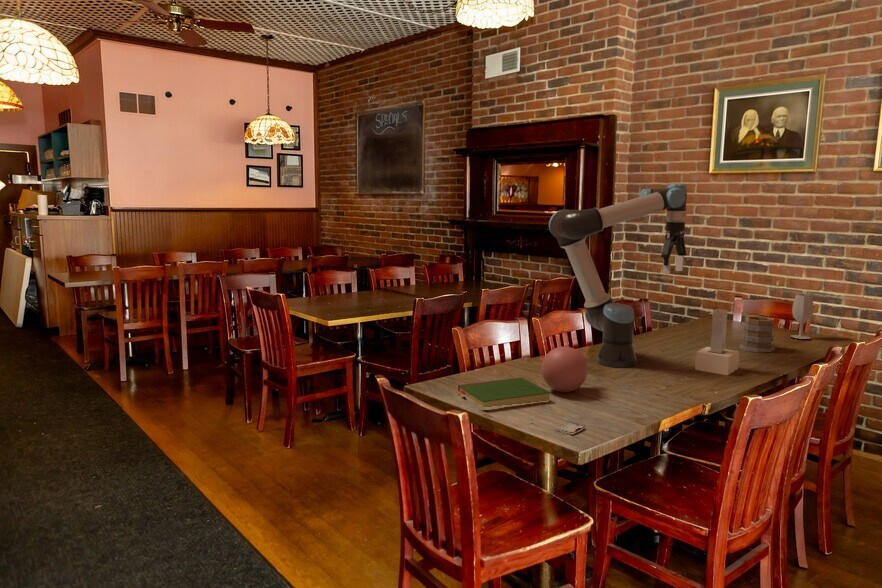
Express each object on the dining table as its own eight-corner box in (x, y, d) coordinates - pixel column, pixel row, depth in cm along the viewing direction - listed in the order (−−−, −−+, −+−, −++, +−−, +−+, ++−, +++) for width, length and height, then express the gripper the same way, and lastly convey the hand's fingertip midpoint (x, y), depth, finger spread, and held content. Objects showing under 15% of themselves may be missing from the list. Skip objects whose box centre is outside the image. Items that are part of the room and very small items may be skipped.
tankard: (778, 353, 266) (781, 318, 264) (748, 352, 266) (751, 318, 264) (756, 342, 286) (758, 310, 284) (728, 342, 286) (730, 310, 284)
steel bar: (720, 363, 236) (724, 311, 233) (709, 361, 239) (713, 310, 236) (724, 361, 239) (727, 310, 236) (713, 359, 242) (716, 308, 239)
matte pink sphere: (606, 391, 212) (607, 347, 210) (562, 400, 201) (564, 354, 199) (574, 380, 225) (575, 338, 223) (531, 389, 214) (532, 345, 212)
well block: (727, 375, 231) (728, 357, 230) (694, 369, 239) (695, 351, 238) (737, 369, 240) (739, 351, 239) (706, 363, 248) (707, 346, 247)
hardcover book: (521, 387, 217) (521, 377, 217) (550, 403, 200) (550, 392, 200) (456, 396, 208) (456, 385, 207) (480, 413, 191) (480, 401, 190)
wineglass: (785, 337, 297) (788, 294, 294) (799, 336, 300) (803, 293, 297) (800, 341, 289) (804, 296, 286) (815, 340, 291) (819, 295, 288)
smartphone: (541, 415, 186) (586, 426, 176) (541, 419, 186) (586, 429, 176) (527, 421, 181) (572, 433, 171) (527, 425, 181) (572, 436, 171)
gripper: (672, 222, 248) (669, 275, 251) (695, 221, 266) (693, 270, 269) (654, 221, 253) (651, 273, 256) (678, 220, 271) (675, 269, 274)
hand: (672, 272), depth 262 cm, fingers open, 13 cm apart
